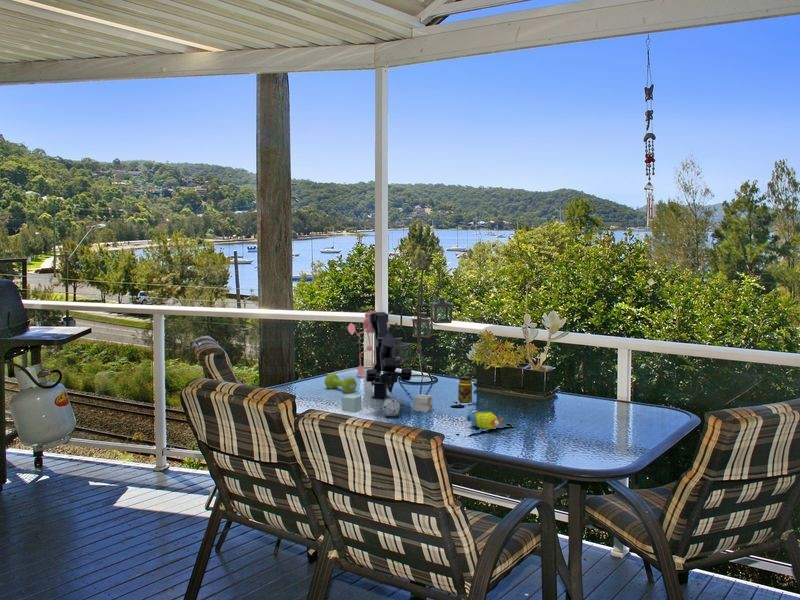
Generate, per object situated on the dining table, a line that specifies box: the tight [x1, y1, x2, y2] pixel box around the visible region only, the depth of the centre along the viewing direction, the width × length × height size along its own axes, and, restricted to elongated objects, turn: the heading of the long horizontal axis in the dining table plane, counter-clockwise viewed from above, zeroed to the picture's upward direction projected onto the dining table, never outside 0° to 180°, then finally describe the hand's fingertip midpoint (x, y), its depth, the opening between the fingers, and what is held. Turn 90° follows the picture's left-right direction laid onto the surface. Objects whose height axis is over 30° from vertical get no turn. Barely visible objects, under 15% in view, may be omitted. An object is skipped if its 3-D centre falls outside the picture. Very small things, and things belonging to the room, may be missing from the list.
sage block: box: [341, 393, 362, 413], centre depth 320 cm, size 6×6×6 cm
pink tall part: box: [347, 309, 391, 378], centre depth 389 cm, size 15×26×35 cm, turn 134°
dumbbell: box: [324, 373, 358, 394], centre depth 359 cm, size 16×8×7 cm, turn 45°
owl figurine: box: [465, 409, 505, 430], centre depth 290 cm, size 28×9×15 cm
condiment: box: [457, 375, 473, 403], centre depth 334 cm, size 7×8×12 cm
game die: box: [379, 396, 404, 419], centre depth 310 cm, size 9×8×10 cm
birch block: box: [413, 394, 433, 413], centre depth 321 cm, size 6×6×6 cm
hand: (390, 392), depth 309 cm, fingers closed
